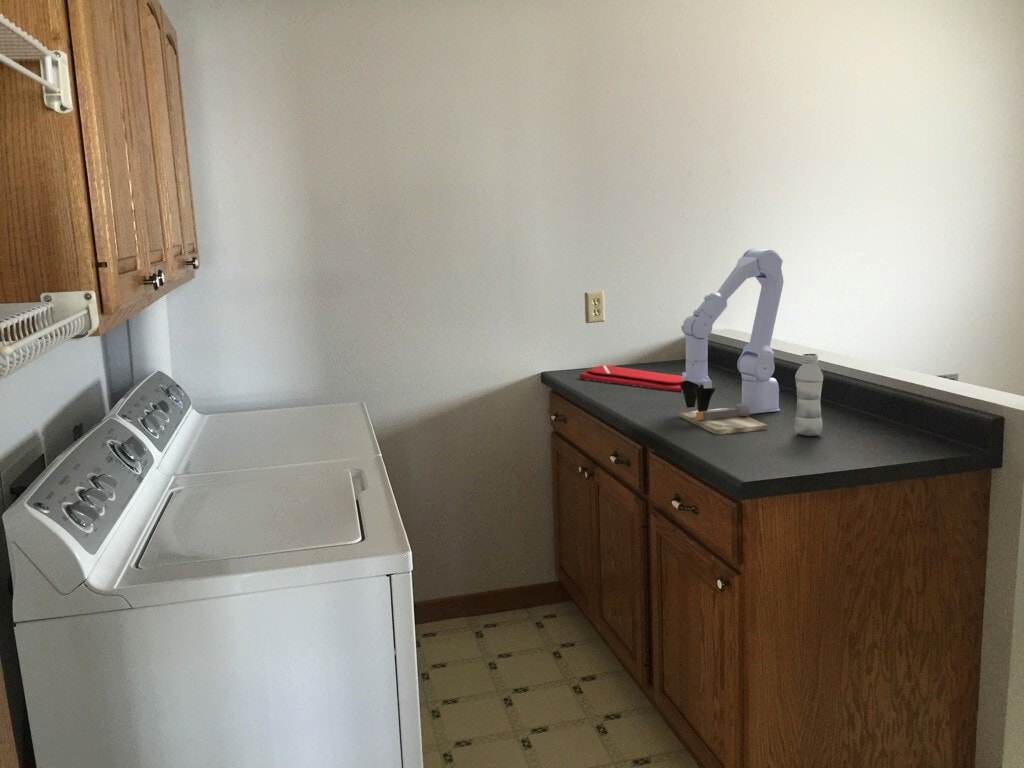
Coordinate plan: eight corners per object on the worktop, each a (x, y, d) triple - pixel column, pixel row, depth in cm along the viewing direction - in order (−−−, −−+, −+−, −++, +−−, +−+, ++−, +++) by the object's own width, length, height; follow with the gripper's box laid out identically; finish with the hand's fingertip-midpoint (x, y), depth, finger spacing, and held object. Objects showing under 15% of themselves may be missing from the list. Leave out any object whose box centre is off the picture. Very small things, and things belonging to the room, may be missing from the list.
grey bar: (745, 412, 241) (745, 403, 240) (752, 415, 237) (752, 405, 237) (694, 417, 237) (694, 407, 237) (700, 420, 234) (700, 410, 233)
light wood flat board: (726, 412, 250) (727, 407, 249) (769, 430, 227) (769, 425, 227) (676, 416, 246) (676, 411, 246) (715, 436, 224) (715, 430, 224)
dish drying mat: (680, 394, 279) (680, 382, 278) (578, 380, 307) (578, 370, 306) (708, 386, 290) (708, 374, 289) (607, 374, 318) (607, 363, 317)
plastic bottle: (808, 440, 217) (810, 357, 213) (788, 434, 223) (789, 354, 219) (828, 436, 220) (830, 354, 216) (807, 430, 226) (809, 351, 222)
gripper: (671, 357, 249) (672, 405, 251) (694, 365, 235) (694, 416, 237) (695, 355, 250) (695, 403, 253) (719, 363, 236) (719, 414, 239)
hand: (696, 410), depth 245 cm, fingers open, 7 cm apart
